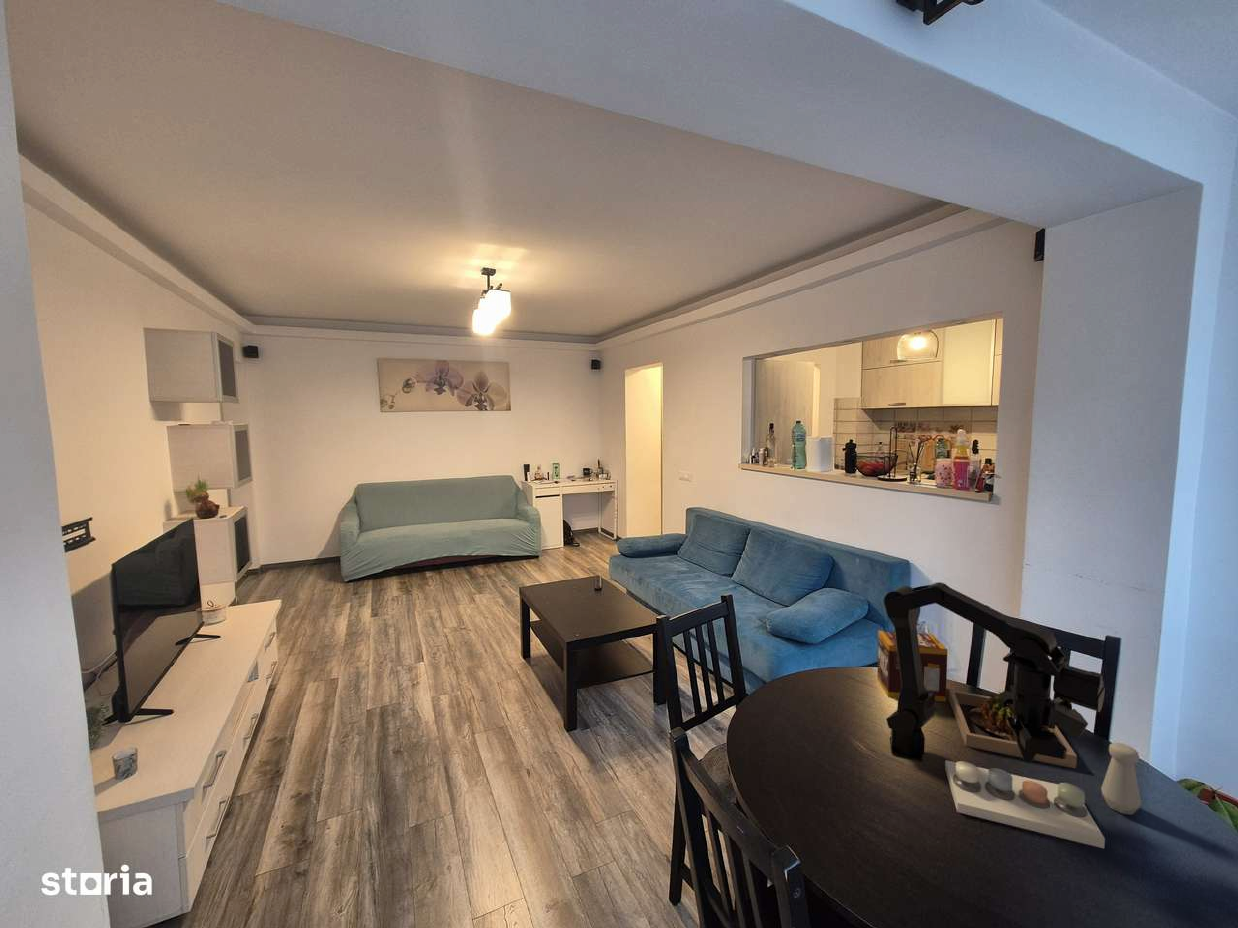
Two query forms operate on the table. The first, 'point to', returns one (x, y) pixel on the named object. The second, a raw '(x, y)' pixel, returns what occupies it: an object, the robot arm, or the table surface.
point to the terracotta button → (1034, 792)
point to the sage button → (1071, 795)
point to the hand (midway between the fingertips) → (1027, 761)
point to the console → (1023, 808)
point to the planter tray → (996, 743)
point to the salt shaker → (1122, 780)
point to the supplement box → (931, 664)
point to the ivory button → (967, 772)
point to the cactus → (993, 718)
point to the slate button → (1000, 779)
